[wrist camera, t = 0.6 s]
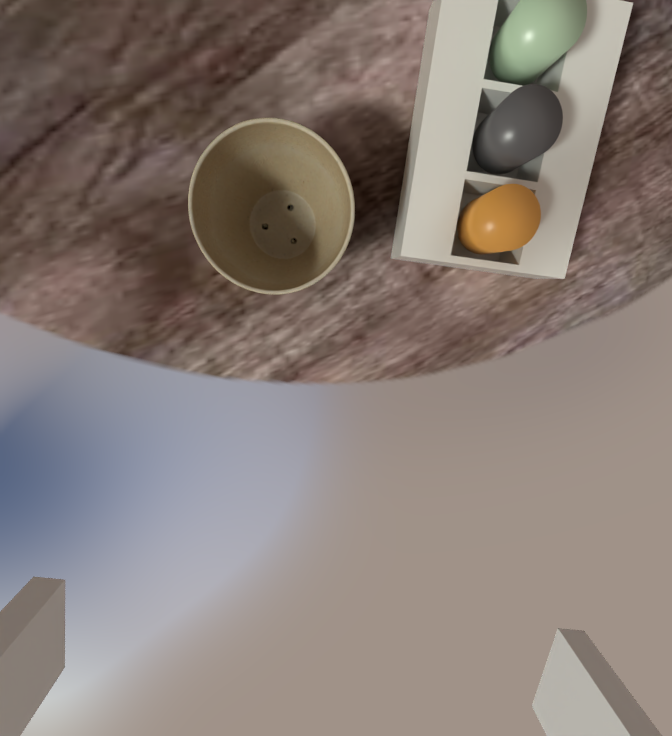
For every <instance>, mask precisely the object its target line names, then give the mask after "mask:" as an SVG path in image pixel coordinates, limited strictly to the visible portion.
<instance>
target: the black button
mask: <svg viewBox="0 0 672 736" xmlns="http://www.w3.org/2000/svg"><path fill="white" fill-rule="evenodd" d="M562 123H563V112H562V107H561V104H560V102H559V100H558V98H557V96H556V95H555V94H554V93H553V92H552V91H551V90H550V89H548V88H547V87H545V86H542V85H538V84H528V85H524V86H521V87H519V88H517V89H516V90H514V91H513V92H512V93H511V94H510V95H508V96H507V97H506V98H505V99H504V100H503V101H502V102H501V103H500V104H499V105H498V106H497V107H496V108H495V109H494V110H493V111H492V112H491V113H490V114H489V115H488V116H487V117H486V118H485V119H484V120H483V121H482V122H481V123H480V124H479V126H478V127H477V129H476V131H475V133H474V137H473V142H472V149H473V155H474V157H475V160H476V162H477V163H478V165H479V166H480V167H481V168H482V169H483V170H485V171H486V172H488V173H491V174H496V175H500V174H506V173H509V172H511V171H513V170H514V169H516V168H518V167H520V166H522V165H523V164H525V163H527V162H529V161H531V160H532V159H534V158H536V157H538V156H540V155H541V154H543V153H545V152H546V151H547V150H548V149H550V148H551V147H552V145H553V144H554V143H555V142H556V140H557V138H558V136H559V134H560V132H561V128H562Z"/></svg>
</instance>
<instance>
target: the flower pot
mask: <svg viewBox="0 0 672 736" xmlns="http://www.w3.org/2000/svg"><path fill="white" fill-rule="evenodd" d="M289 205H290V209H289V210H288V206H289ZM188 210H189V218H190V223H191V228H192V231H193V234H194V236H195V239H196V241H197V243H198V245H199V247H200V249H201V251H202V252H203V254H204V255H205V257H206V258H207V260H208V261H209V262H210V263H211V265H212V266H213V267H214V268H215V269H216V270H217V271H218V272H219V273H220V274H222V275H223V276H224V277H225V278H227V279H228V280H230V281H231V282H233V283H235V284H237V285H238V286H241V287H243V288H245V289H248V290H251V291H254V292H258V293H263V294H286V293H292V292H296V291H299V290H302V289H305V288H307V287H309V286H311V285H313V284H315V283H316V282H318V281H319V280H321V279H322V278H323V277H325V276H326V275H327V274H328V273H329V272H330V271H331V270H332V269H333V268H334V267H335V265H336V264H337V263H338V262H339V260H340V259H341V257H342V256H343V254H344V252H345V250H346V248H347V246H348V243H349V241H350V238H351V235H352V231H353V226H354V218H355V201H354V195H353V188H352V185H351V181H350V178H349V175H348V173H347V170H346V168H345V167H344V165H343V163H342V161H341V159H340V158H339V156H338V155H337V153H336V152H335V151H334V150H333V149H332V147H331V146H330V145H329V144H328V143H327V142H326V141H325V140H324V139H323V138H321V137H320V136H319V135H318V134H316V133H315V132H313V131H312V130H310V129H308V128H306V127H304V126H302V125H300V124H298V123H295V122H292V121H289V120H284V119H279V118H258V119H251V120H248V121H244V122H241V123H239V124H236V125H234V126H232V127H231V128H229V129H227V130H226V131H224V132H223V133H222V134H220V135H219V136H218V137H217V138H215V139H214V140H213V141H212V142H211V144H210V145H209V146H208V147H207V148H206V149H205V151H204V152H203V154H202V155H201V157H200V158H199V160H198V162H197V164H196V166H195V169H194V172H193V174H192V178H191V182H190V187H189V195H188ZM265 227H267V228H268V229H264V228H265ZM294 238H295V239H296V241H297V242H295V241H294Z"/></svg>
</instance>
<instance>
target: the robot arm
mask: <svg viewBox="0 0 672 736" xmlns="http://www.w3.org/2000/svg"><path fill="white" fill-rule="evenodd" d="M64 667H65V580H61V579H52V578H41V577H33V578H32V579H31V580H30V581H29V582H28V583H27V584H26V585H25V586H24V587H23V589H21V591H20V592H19V593H18V594H17V595H16V596H15V597H14V598H13V599H12V600H11V601H10V602H9V603H8V604H7V605H6V606H5V607H4V608H3V609H2V610H1V612H0V736H20V735H21V734H22V732H23V731H24V729H25V727H26V726H27V724H28V723H29V721H30V720H31V718H32V717H33V715H34V714H35V712H36V711H37V709H38V708H39V706H40V704H41V703H42V701H43V700H44V698H45V697H46V695H47V694H48V692H49V691H50V689H51V688H52V686H53V684H54V683H55V681H56V680H57V678H58V677H59V675H60V674H61V672H62V671H63V669H64ZM532 707H533V709H534V711H535V713H536V715H537V717H538V719H539V721H540V723H541V725H542V727H543V729H544V731H545V733H546V736H662V735H661V734H660V732H659V731H658V730H657V728H656V727H655V726H654V724H653V723H652V722H651V720H650V719H649V717H648V716H647V715H646V713H645V712H644V711H643V709H642V708H641V707H640V705H639V704H638V703H637V701H636V700H635V699H634V698H633V696H632V695H631V693H630V692H629V691H628V689H627V688H626V687H625V685H624V684H623V683H622V681H621V680H620V679H619V677H618V676H617V675H616V673H615V672H614V670H613V669H612V668H611V666H610V665H609V664H608V662H607V661H606V660H605V658H604V657H603V656H602V654H601V653H600V652H599V650H598V649H597V648H596V646H595V645H594V644H593V642H592V641H591V640H590V638H589V637H588V635H587V634H586V633H585V631H581V630H570V629H560V628H558V630H557V633H556V636H555V639H554V642H553V645H552V648H551V651H550V654H549V657H548V660H547V663H546V666H545V669H544V672H543V675H542V678H541V681H540V684H539V687H538V689H537V693H536V696H535V699H534V701H533V704H532Z"/></svg>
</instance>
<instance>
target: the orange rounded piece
mask: <svg viewBox="0 0 672 736" xmlns="http://www.w3.org/2000/svg"><path fill="white" fill-rule="evenodd" d="M540 219H541V209H540V204H539V202H538V199H537V197H536V196H535V195H534V193H533V192H532V191H531V190H529V189H528V188H527V187H525V186H522V185H519V184H506V185H502V186H500V187H498V188H496V189H494V190H492V191H490V192H488V193H486V194H484V195H482V196H480V197H478V198H476V199H474V200H472V201H471V202H469V203H468V204H467V205H466V206H465V207H464V208H463V210H462V211H461V213H460V215H459V218H458V222H457V234H458V237H459V240H460V242H461V243H462V245H463V246H464V247H465V248H466V249H467V250H469V251H470V252H472V253H475V254H490V253H497V252H504V251H511V250H515V249H518V248H520V247H522V246H524V245H525V244H527V243H528V242H529V241H530V240H531V239H532V238H533V236H534V235H535V233H536V232H537V230H538V227H539V224H540Z"/></svg>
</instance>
